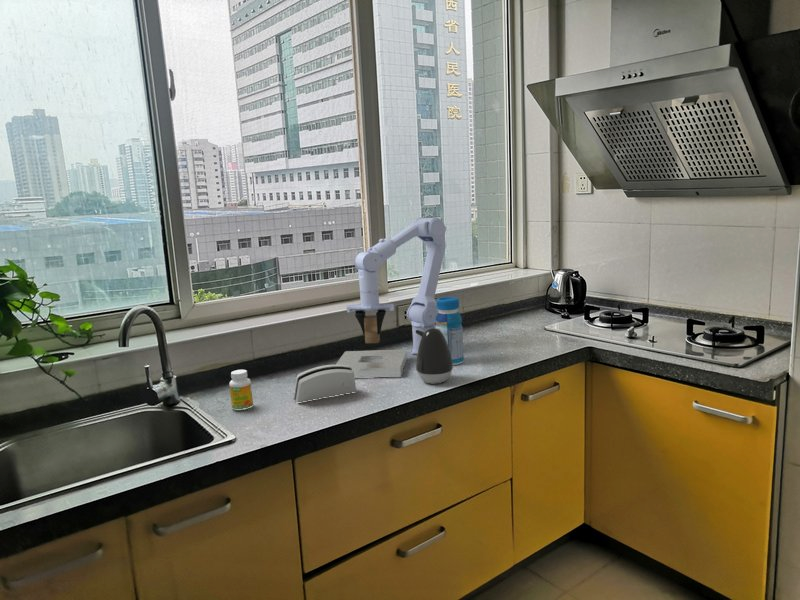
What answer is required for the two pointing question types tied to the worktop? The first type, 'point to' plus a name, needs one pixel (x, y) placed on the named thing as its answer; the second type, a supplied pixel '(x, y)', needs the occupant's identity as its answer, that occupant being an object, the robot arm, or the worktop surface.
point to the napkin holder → (324, 382)
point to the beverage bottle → (451, 326)
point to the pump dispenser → (433, 357)
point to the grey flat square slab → (375, 362)
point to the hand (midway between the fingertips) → (372, 333)
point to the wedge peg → (371, 329)
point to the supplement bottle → (240, 390)
